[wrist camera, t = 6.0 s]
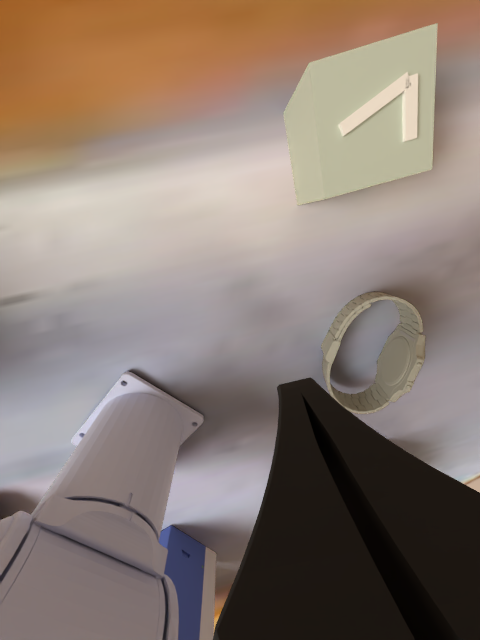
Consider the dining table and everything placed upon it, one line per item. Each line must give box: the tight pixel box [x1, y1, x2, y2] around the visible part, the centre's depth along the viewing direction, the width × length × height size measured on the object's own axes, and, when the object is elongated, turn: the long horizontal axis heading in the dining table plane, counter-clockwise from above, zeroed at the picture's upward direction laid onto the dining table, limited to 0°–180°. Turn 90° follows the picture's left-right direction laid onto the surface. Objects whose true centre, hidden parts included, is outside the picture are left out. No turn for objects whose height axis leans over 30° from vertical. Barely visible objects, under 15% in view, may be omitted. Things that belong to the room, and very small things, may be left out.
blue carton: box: [159, 525, 216, 640], centre depth 24 cm, size 8×3×12 cm, turn 39°
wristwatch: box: [321, 292, 426, 414], centre depth 18 cm, size 9×6×5 cm
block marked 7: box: [283, 23, 437, 205], centre depth 13 cm, size 5×5×5 cm
